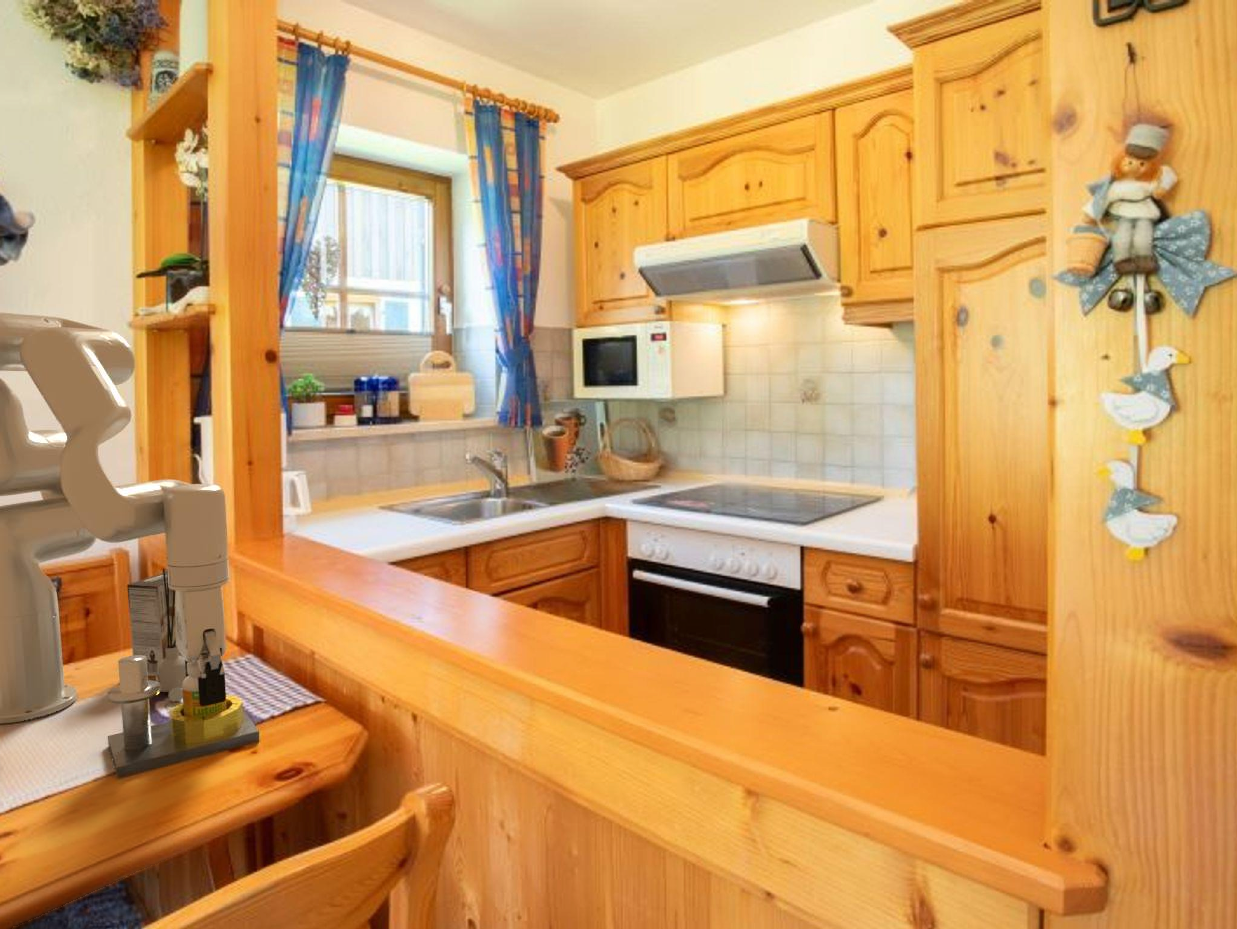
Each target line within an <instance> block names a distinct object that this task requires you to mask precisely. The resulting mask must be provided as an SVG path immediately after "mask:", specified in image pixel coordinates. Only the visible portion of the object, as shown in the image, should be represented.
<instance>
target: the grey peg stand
mask: <svg viewBox="0 0 1237 929" xmlns="http://www.w3.org/2000/svg"><path fill="white" fill-rule="evenodd" d="M117 663H118V676H119V678H118V679H119V684H118V685H116V686H114V687H112V688H111V689H110V690H108V692H107V698H108V699H107V700H108V702H110V703H112V704H115V705H116V704H117V705H120V706H121V719H122V720H121V722H122V732H119V733H113V734H111V735H107V745H109V746H108V749H110V750H109V753H110V752H111V754H110V757H111V756H112V757H111V760H112V759H113V761H112V764H113V763H114V764H113V766H115V768H114V770H116V772H115V775H116V778H117V779H121V777H122V778H125V777H128V776H129V777H130V776H132V775H137V774H141V773H144V772H148V771H152V770H155V769H159V768H163V767H166V766H167V767H168V766H171V765H174V764H178V763H181V762H182V763H183V762H186V761H190V760H193V759H197V758H201V757H204V756H209V755H213V754H216V753H217V754H218V753H220V752H221V753H222V752H225V751H227V750H231V749H235V748H239V747H243V746H247V745H249V744H255V743H257V742H258V743H259V742H260V730H259V729H258V728H257V726H256V725H255V723H254V722H253V721H252V719H251V717H250V716H249V715H248V714H247V711H246V710H245V709H244V707H243V706H244V702H243V701H242V700H241V698H240V697H239V696H235V695H231V694H227V693H226V708H227V710H225V711H223V712H221V713H219V714H215V715H211V716H207V717H197V718H190V717H185V716H184V708H183V702H181V703H178V704H177V705H176V706H174V707H173V708H172V710H171V711H169V721H166V722H162V723H156V724H151V711H150V710H151V708H150V699H152V698H154V697H155V696H158V694H160V692H161V691H160V690H161V689H160V683H159V682H157V681H156V680H153V679H152V680H151V679H149V678H148V677H149V676H148V675H147V660H146V656H144V655H133V654H132V655H129V656H125V657H122V658H120V659H119V660H117Z"/></svg>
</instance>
